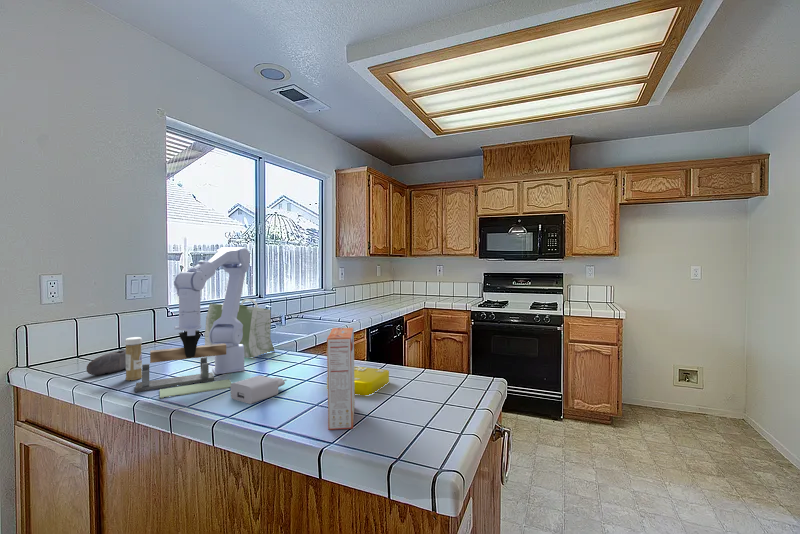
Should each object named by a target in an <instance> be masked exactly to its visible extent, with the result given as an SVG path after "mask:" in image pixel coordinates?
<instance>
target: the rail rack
mask: <svg viewBox="0 0 800 534" xmlns="http://www.w3.org/2000/svg"><path fill="white" fill-rule="evenodd" d="M209 364H210V363H209V362H208V357H200V373H198V374H197V373H196V374H190V375H182V376H176V377H168V378H160V379H154V380H153V379H151V380H150V363H145V364H143V363H142V378H141V381H138V382H136V383H135V388H134V389H135V393H137V392H138V393H139V392H145V391H146V390H147V391H151V389H154V390H159V389H158V388H160V389H166V388H165V387H167V388H172V387H171V386H174V387H178V386H177V385H181V386H187V385H193V383H194V384H200V382H201V383H207V382H214V381H215V376H214V374H213V372H209V369H210V368H209V367H210V365H209ZM186 384H187V385H186ZM147 391H146V392H147Z"/></svg>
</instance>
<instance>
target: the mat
mask: <svg viewBox="0 0 800 534" xmlns="http://www.w3.org/2000/svg"><path fill="white" fill-rule="evenodd" d="M231 383H232V381H231V380H230V379H221V380H214V381H208V382H201V383H194V384H187V385H181V386H174V387H167V388H160V389H159V399H160V398H161V399H165V398H164V397H168V398H170V397H169V396H174V397H176V396H175V395H180V396H184V395H185V394H186V395H191V393H193V394H199V393H204V392H210V391H216V390H222V389H223V390H224V389H229V388H230V389H231ZM198 392H199V393H198ZM186 395H185V396H186Z"/></svg>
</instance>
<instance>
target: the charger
mask: <svg viewBox="0 0 800 534" xmlns="http://www.w3.org/2000/svg"><path fill="white" fill-rule="evenodd" d="M286 382H287V379H286V378H285V379H283V378H280V377H269V376H266V375H265V376H264V375H256V376H252V377H248V378H246V379H241V380H239V381H235V382H231V387H230V398H231V399H232V400H235V401H238V402H242V403H246V404H249V405H251V404H255V403H257V402H260V401H263V400H266V399H268V398H269V399H270V398H272V397H275V396H277V395H278V394H279V387H282V386H284V385H285V384H286Z"/></svg>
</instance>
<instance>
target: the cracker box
mask: <svg viewBox="0 0 800 534" xmlns="http://www.w3.org/2000/svg"><path fill="white" fill-rule="evenodd" d="M354 335H355V334H354V327H333V328H332V329H331V331H330V332H329V335H328V336H327V338H326V359H327V360H326V367H327V368H326V370H327V371H326V373H327V374H326V375H327V377H326V380H327V379H328V390H327V414H328V415H327V417H328V419H327V429H328V430H329V431H331V430H332V431H334V430H348V429H349V430H350V429H351V430H352V429H354V420H355V419H354V418H355V404H356V403H355V401H356V400H355V398H356V395H355V389H354V366H355V340H354V337H355V336H354Z"/></svg>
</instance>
